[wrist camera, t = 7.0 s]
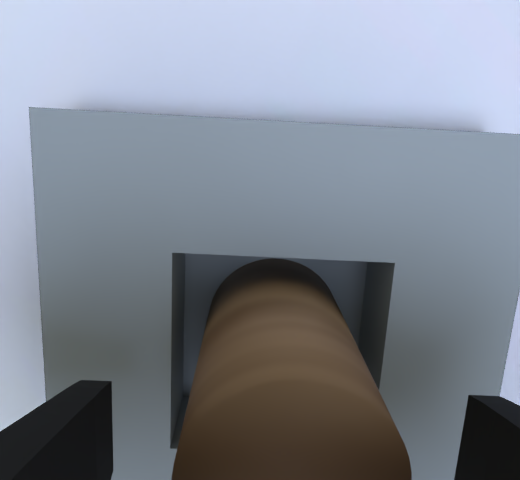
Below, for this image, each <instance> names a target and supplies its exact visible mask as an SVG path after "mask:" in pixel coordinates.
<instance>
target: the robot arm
mask: <svg viewBox="0 0 520 480" xmlns="http://www.w3.org/2000/svg"><path fill="white" fill-rule="evenodd" d="M112 474H113V423H112V381H97V380H80V381H78V382H76V383H74V384H73V385H71V386H69V387H68V388H66V389H65V390H63V391H62V392H60V393H59V394H57V395H55V396H54V397H52V398H51V399H49V400H48V401H46V402H45V403H43V404H42V405H40V406H39V407H37V408H36V409H34V410H33V411H31V412H30V413H28V414H27V415H25V416H24V417H22V418H21V419H19V420H18V421H16V422H14V423H13V424H11V425H10V426H8V427H7V428H5V429H4V430H2V431H1V432H0V480H111V477H112ZM454 480H520V406H519V405H517V404H515V403H513V402H511V401H509V400H506V399H504V398H502V397H499V396H486V395H468V401H467V407H466V413H465V419H464V425H463V430H462V436H461V442H460V448H459V454H458V460H457V466H456V471H455V477H454Z"/></svg>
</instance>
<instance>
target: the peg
mask: <svg viewBox="0 0 520 480" xmlns="http://www.w3.org/2000/svg"><path fill="white" fill-rule="evenodd" d="M171 480H412V471H411V465H410V459H409V455H408V452H407V449H406V446H405V444H404V442H403V440H402V438H401V436H400V433H399V431H398V429H397V427H396V425H395V423H394V421H393V419H392V417H391V415H390V413H389V411H388V409H387V407H386V404H385V402H384V400H383V398H382V396H381V394H380V392H379V390H378V388H377V386H376V384H375V382H374V380H373V378H372V375H371V373H370V371H369V369H368V367H367V365H366V363H365V361H364V359H363V357H362V355H361V353H360V351H359V348H358V346H357V344H356V342H355V340H354V338H353V336H352V334H351V332H350V330H349V328H348V326H347V324H346V322H345V319H344V317H343V315H342V313H341V311H340V309H339V307H338V305H337V303H336V301H335V299H334V297H333V295H332V293H331V291H330V289H329V287H328V286H327V284H326V283H325V282H324V281H323V280H322V278H321V277H320V276H319V275H317V274H316V273H315V272H314V271H313V270H311V269H309V268H308V267H306V266H304V265H302V264H300V263H297V262H294V261H291V260H285V259H274V258H272V259H262V260H258V261H254V262H251V263H248V264H246V265H244V266H242V267H240V268H238V269H237V270H235V271H234V272H232V273H231V274H230V275H229V276H228V277H227V278H226V279H225V280H224V281H223V282H222V283H221V285H220V286H219V288H218V289H217V291H216V293H215V295H214V297H213V299H212V303H211V306H210V310H209V314H208V318H207V323H206V327H205V331H204V336H203V340H202V344H201V349H200V353H199V357H198V362H197V366H196V370H195V374H194V379H193V383H192V387H191V392H190V396H189V400H188V405H187V409H186V413H185V418H184V422H183V426H182V430H181V435H180V439H179V443H178V448H177V452H176V456H175V461H174V465H173V471H172V478H171Z"/></svg>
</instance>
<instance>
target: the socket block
mask: <svg viewBox="0 0 520 480" xmlns="http://www.w3.org/2000/svg"><path fill="white" fill-rule="evenodd" d="M29 118H30V135H31V152H32V169H33V186H34V203H35V220H36V237H37V254H38V271H39V288H40V305H41V322H42V339H43V356H44V373H45V390H46V401H48V400H49V399H51V398H52V397H54V396H55V395H57V394H59V393H60V392H62V391H63V390H65V389H66V388H68V387H69V386H71V385H73V384H74V383H76V382H78V381H80V380H97V381H112V423H113V474H112V477H111V480H171V478H172V471H173V465H174V461H175V456H176V452H177V448H178V443H179V439H180V435H181V430H182V426H183V422H184V418H185V413H186V409H187V405H188V400H189V396H190V392H191V387H192V383H193V379H194V374H195V370H196V366H197V362H198V357H199V353H200V349H201V344H202V340H203V336H204V331H205V327H206V323H207V318H208V314H209V310H210V306H211V303H212V299H213V297H214V295H215V293H216V291H217V289H218V288H219V286H220V285H221V283H222V282H223V281H224V280H225V279H226V278H227V277H228V276H229V275H230V274H231V273H232V272H234V271H235V270H237V269H238V268H240V267H242V266H244V265H246V264H248V263H251V262H254V261H258V260H262V259H272V258H274V259H285V260H291V261H294V262H297V263H300V264H302V265H304V266H306V267H308V268H309V269H311V270H313V271H314V272H315V273H316V274H317V275H319V276H320V277H321V278H322V280H323V281H324V282H325V283H326V284H327V286H328V287H329V289H330V291H331V293H332V295H333V297H334V299H335V301H336V303H337V305H338V307H339V309H340V311H341V313H342V315H343V317H344V319H345V322H346V324H347V326H348V328H349V330H350V332H351V334H352V336H353V338H354V340H355V342H356V344H357V346H358V348H359V351H360V353H361V355H362V357H363V359H364V361H365V363H366V365H367V367H368V369H369V371H370V373H371V375H372V378H373V380H374V382H375V384H376V386H377V388H378V390H379V392H380V394H381V396H382V398H383V400H384V402H385V404H386V407H387V409H388V411H389V413H390V415H391V417H392V419H393V421H394V423H395V425H396V427H397V429H398V431H399V433H400V436H401V438H402V440H403V442H404V444H405V446H406V449H407V452H408V455H409V459H410V465H411V471H412V480H454V477H455V471H456V466H457V460H458V454H459V448H460V442H461V436H462V430H463V425H464V419H465V413H466V407H467V401H468V395H486V396H499V395H500V390H501V384H502V379H503V374H504V369H505V364H506V358H507V353H508V348H509V343H510V337H511V332H512V327H513V322H514V316H515V311H516V306H517V301H518V295H519V290H520V134H507V133H489V132H471V131H453V130H435V129H416V128H398V127H380V126H362V125H344V124H326V123H307V122H289V121H271V120H253V119H235V118H217V117H198V116H180V115H162V114H144V113H126V112H108V111H89V110H71V109H53V108H35V107H29Z"/></svg>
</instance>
